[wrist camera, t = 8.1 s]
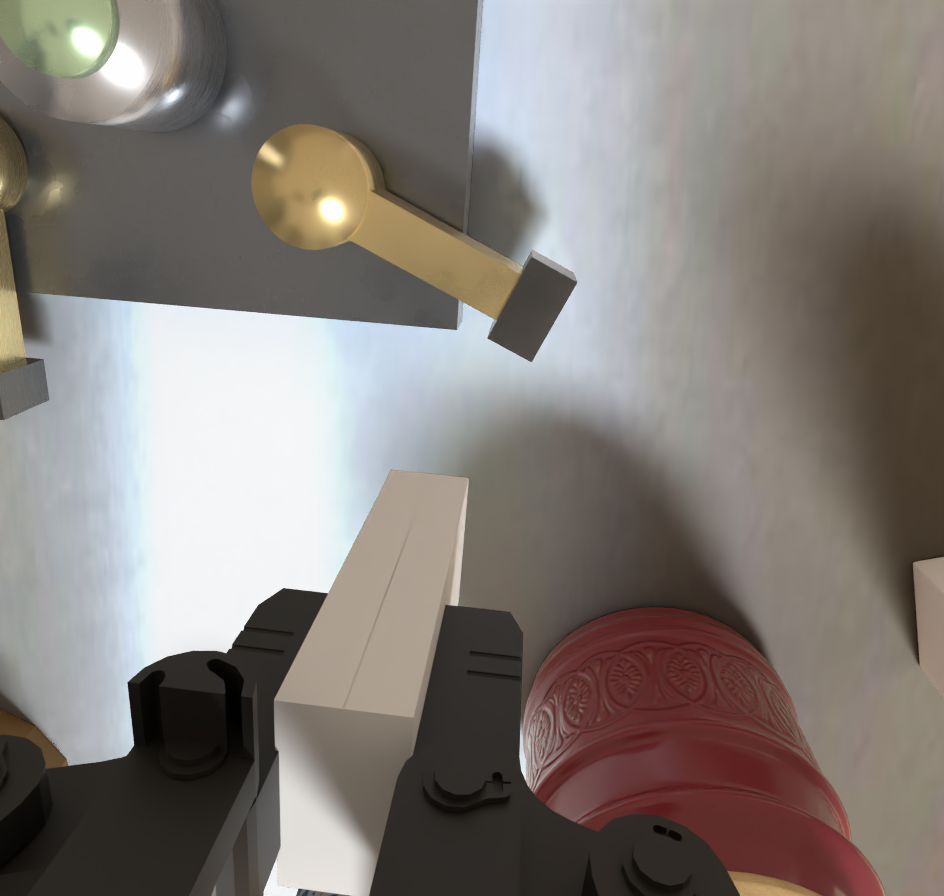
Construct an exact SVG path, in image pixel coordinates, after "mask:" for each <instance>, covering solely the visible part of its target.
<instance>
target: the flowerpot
mask: <svg viewBox="0 0 944 896" xmlns="http://www.w3.org/2000/svg"><path fill="white" fill-rule="evenodd" d="M3 734H5V735H11V736H17V737H24V738H28V739H29V740H30V741H32V742H33V743H35V744H36V745H37V746H39V747H40V748H41V749H42V752H43V756H44V759H45V763H46V769H48V768H56V767H64V766H68V763H67V760H66V758H65V757H64V756H63V755H62V754H61V753H60V752H59V751H58V750H57V749H56V747H55V746H54V745H53V744H52V743H51V742H50V741H49V740H48V739H47V738H46V737H45V736H44V734H43V733H42V732H41V731H40V730H39V729H38V728H37V727H36V726H35V725H32V724H30V723H28V722H26V721H24V720H22V719H20V718H18V717H16V716H14V715H12V714H9V713H7V712H5V711H3V710H1V709H0V735H3Z"/></svg>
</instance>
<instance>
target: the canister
mask: <svg viewBox="0 0 944 896" xmlns="http://www.w3.org/2000/svg"><path fill="white" fill-rule="evenodd" d="M523 725H524V727H523V746H524V753H525V757H526V783H527V785H528V786H529V788H530V789H531V790H532V792H533V793H534V794H535V795H536V797H537V798H538V799H539V800H540V801H542V802H543V803H544V804H545V805H546V806H548V807H549V808H550V809H551V810H553V811H554V812H556V813H558V814H560V815H562V816H564V817H565V818H567V819H569V820H571V821H574V822H576V823H578V824H581V825H583V826H585V827H588V828H590V829H592V830H595V831H597V832H598V831H599V830H600V829H601V828H603V827H604V826H605V825H606V824H607V823H608V822H610V821H611V820H612V819H615V818H618V817H622V816H626V815H630V814H634V813H636V814H647V815H657V816H661V817H664V818H666V819H669V820H671V821H674V822H676V823H679V824H681V825H684V826H685V827H687V828H688V829H689V830H691V831H692V832H693V833H695V834H696V835H697V836H699V837H700V838H701V839H703V840H704V841H705V842H707V843H708V844H709V846H710V847H711V848H712V850H713V851H714V852H715V854H716V855H717V856H718V858H719V859H720V860H721V862H722V863H723V864H724V866H725V868H726V870H727V871H728V873H729V875H730V877H731V879H732V881H733V883H734V885H735V886H736V888H737V890H738V892H739V894H740V896H886V893H885V891H884V888H883V885H882V883H881V881H880V879H879V877H878V875H877V873H876V872H875V870H874V869H873V867H872V866H871V864H870V863H869V861H868V860H867V859H866V857H865V856H864V855H863V854H862V852H861V851H860V850H859V849H858V848H857V847H856V846H855V845H854V844H853V843H852V842H851V831H850V825H849V821H848V818H847V814H846V812H845V809H844V807H843V804H842V802H841V800H840V799H839V797H838V795H837V793H836V792H835V790H834V789H833V787H832V786H831V784H830V783H829V782H828V780H827V779H826V778H825V777H824V775H823V774H822V772H821V770H820V768H819V765H818V763H817V761H816V759H815V757H814V755H813V753H812V751H811V749H810V747H809V745H808V743H807V741H806V739H805V736H804V734H803V732H802V730H801V728H800V726H799V724H798V720H797V715H796V711H795V708H794V705H793V703H792V700H791V698H790V696H789V694H788V692H787V690H786V688H785V686H784V684H783V682H782V680H781V678H780V677H779V675H778V674H777V672H776V671H775V669H774V668H773V667H772V666H771V664H770V663H769V662H768V661H767V660H766V659H765V658H764V657H763V656H762V655H761V654H760V653H759V652H758V650H757V649H756V648H755V647H754V646H753V645H752V644H751V643H750V642H749V641H748V640H747V639H746V638H745V637H743V636H742V635H741V634H739V633H738V632H737V631H735V630H734V629H732V628H731V627H729V626H727V625H725V624H723V623H722V622H720V621H717V620H715V619H713V618H711V617H708V616H705V615H702V614H699V613H695V612H692V611H687V610H682V609H675V608H665V607H646V608H636V609H629V610H624V611H619V612H615V613H612V614H608V615H606V616H603V617H600V618H598V619H595V620H593V621H591V622H589V623H587V624H585V625H583V626H581V627H580V628H578V629H576V630H575V631H573V632H572V633H571V634H569V635H568V636H567V637H565V638H564V639H563V640H562V641H561V642H560V643H559V644H558V645H557V646H556V647H555V648H554V649H553V650H552V651H551V652H550V653H549V655H548V656H547V657H546V659H545V660H544V661H543V663H542V665H541V667H540V668H539V670H538V672H537V674H536V677H535V679H534V682H533V685H532V689H531V691H530V694H529V696H528V699H527V703H526V707H525V713H524V724H523Z"/></svg>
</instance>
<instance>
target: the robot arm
mask: <svg viewBox="0 0 944 896" xmlns="http://www.w3.org/2000/svg"><path fill="white" fill-rule="evenodd" d="M468 484H469V478H465V477H455V476H446V475H436V474H427V473H418V472H408V471H399V470H391V471H390V473H389V475H388V477H387V479H386V481H385V483H384V485H383V487H382V489H381V491H380V493H379V495H378V497H377V499H376V501H375V503H374V505H373V507H372V509H371V511H370V513H369V515H368V517H367V518H366V520H365V522H364V524H363V526H362V528H361V530H360V532H359V534H358V536H357V538H356V540H355V542H354V544H353V546H352V548H351V550H350V552H349V554H348V556H347V558H346V560H345V562H344V564H343V566H342V568H341V569H340V571H339V573H338V575H337V577H336V579H335V581H334V583H333V585H332V587H331V589H330V591H329V593H320V592H312V591H303V590H294V589H286V588H283V589H282V590H280V591H279V592H277V593H276V594H274V595H273V596H271V597H270V598H268V599H267V600H265V601H264V602H262V603H261V604H259V605H258V606H257V608H256V609H255V611H254V612H253V614H252V616H251V617H250V619H249V620H248V622H247V623H246V625H245V626H244V631H241V632H240V634H239V635H238V637H237V638H236V640H235V641H234V643H233V644H232V649H229V650H228V652H227V653H222V652H218V651H190V652H186V653H182V654H177V655H173V656H168V657H166V658H164V659H162V660H159V661H157V662H155V663H153V664H151V665H149V666H147V667H145V668H144V669H142V670H141V671H140V672H139V673H138V674H137V675H136V676H134V677H133V678H132V679H131V680H130V681H129V682H128V691H129V700H130V709H131V718H132V728H133V737H134V747H133V748H132V749H131V751H130V752H129V754H128V755H127V756H125V757H122V758H118V759H113V760H108V761H103V762H96V763H88V764H80V765H72V766H64V767H56V768H48V769H46V763H45V759H44V756H43V752H42V749H41V748H40V747H39V746H37V745H36V744H35V743H33V742H32V741H30V740H29V739H28V738H24V737H17V736H11V735H5V734H3V735H0V896H263V891H264V889H265V886H266V883H267V881H268V878H269V876H270V873H271V870H272V868H273V865H274V863H275V860H276V858H277V868H278V886H284V887H292V888H299V889H306V890H313V891H321V892H328V893H335V894H342V895H350V896H740V894H739V892H738V890H737V888H736V886H735V885H734V883H733V881H732V879H731V877H730V875H729V873H728V871H727V870H726V868H725V866H724V864H723V863H722V862H721V860H720V859H719V858H718V856H717V855H716V854H715V852H714V851H713V850H712V848H711V847H710V846H709V844H708V843H707V842H705V841H704V840H703V839H701V838H700V837H699V836H697V835H696V834H695V833H693V832H692V831H691V830H689V829H688V828H687V827H685V826H684V825H681V824H679V823H676V822H674V821H671V820H669V819H666V818H664V817H661V816H657V815H647V814H636V813H634V814H630V815H626V816H622V817H618V818H615V819H612V820H611V821H610V822H608V823H607V824H606V825H605V826H604V827H603V828H601V829H600V830H599V831H598V832H597V831H595V830H592V829H590V828H588V827H585V826H583V825H581V824H578V823H576V822H574V821H571V820H569V819H567V818H565V817H564V816H562V815H560V814H558V813H556V812H554V811H553V810H551V809H550V808H549V807H548V806H546V805H545V804H544V803H543V802H542V801H540V800H539V799H538V798H537V797H536V795H535V794H534V793H533V792H532V790H531V789H530V788H529V786H528V785H527V783H526V781H525V779H524V776H523V774H522V772H521V767H520V759H519V748H520V715H521V683H522V682H521V678H522V651H523V633H522V631H521V629H520V628H519V626H518V624H517V623H516V621H515V619H514V618H513V616H512V615H511V613H510V612H504V611H496V610H487V609H479V608H470V607H461V606H458V602H459V591H460V579H461V567H462V555H463V544H464V532H465V520H466V508H467V496H468Z"/></svg>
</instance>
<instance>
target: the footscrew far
mask: <svg viewBox="0 0 944 896" xmlns="http://www.w3.org/2000/svg"><path fill="white" fill-rule="evenodd" d="M27 181H28V165H27V160H26V156H25V152H24V149H23V147H22V145H21V143H20V141H19V139H18V137H17V135H16V134H15V133H14V131H13V130H12V129H11V127H10V126H9V125H8V124H7V123H6V122H5V121H4V120H3V119H2V118H0V420H5V419H7V418H10V417H12V416H14V415H16V414H19V413H21V412H23V411H25V410H28V409H30V408H32V407H34V406H37V405H39V404H41V403H43V402H46V401H48V400H49V395H48V388H47V381H46V374H45V367H44V359H36V358H26V355H25V348H24V342H23V335H22V328H21V322H20V315H19V308H18V302H17V295H16V288H15V282H14V275H13V268H12V262H11V255H10V248H9V242H8V235H7V228H6V222H5V215H4V212H6V211H8V210H10V209H11V208H13V207H14V206H15V205H16V204H17V203H18V202H19V201H20V199H21V198H22V196H23V194H24V192H25V189H26V186H27Z"/></svg>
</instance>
